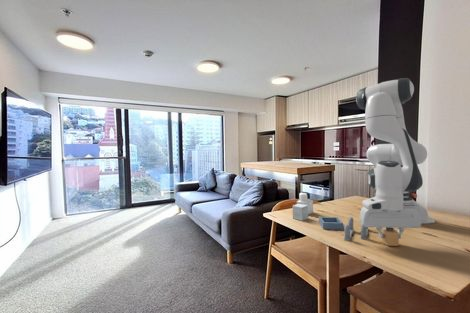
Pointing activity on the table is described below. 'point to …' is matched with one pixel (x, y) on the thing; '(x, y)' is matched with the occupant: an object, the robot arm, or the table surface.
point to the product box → (300, 212)
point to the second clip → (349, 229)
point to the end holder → (331, 223)
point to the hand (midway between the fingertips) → (389, 237)
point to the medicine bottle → (306, 201)
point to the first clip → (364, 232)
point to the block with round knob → (390, 237)
